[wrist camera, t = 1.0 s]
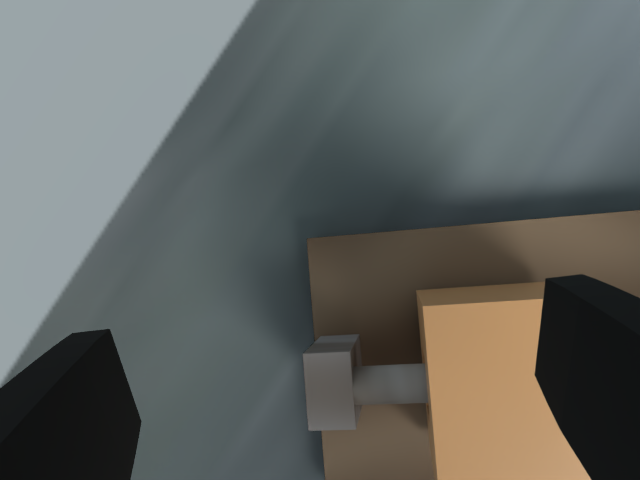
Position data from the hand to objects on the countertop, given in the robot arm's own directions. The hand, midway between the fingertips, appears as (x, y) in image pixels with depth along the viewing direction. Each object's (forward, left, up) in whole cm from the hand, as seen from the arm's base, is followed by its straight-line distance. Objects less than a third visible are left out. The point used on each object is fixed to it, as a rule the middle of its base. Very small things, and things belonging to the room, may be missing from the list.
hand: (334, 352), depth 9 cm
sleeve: (-2, -4, -10) cm, 11 cm away
